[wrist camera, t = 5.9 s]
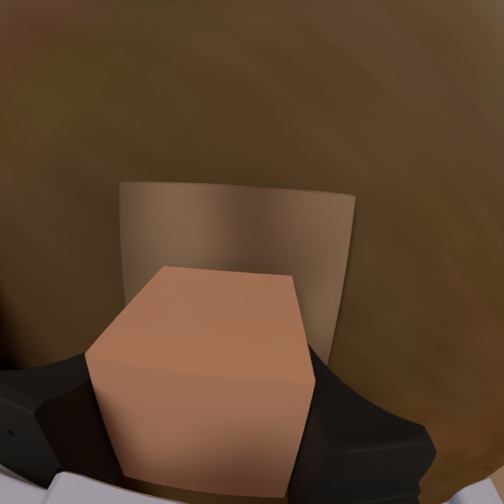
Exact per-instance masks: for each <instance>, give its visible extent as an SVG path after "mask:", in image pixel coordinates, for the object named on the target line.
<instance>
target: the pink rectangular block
mask: <svg viewBox="0 0 504 504" xmlns="http://www.w3.org/2000/svg"><path fill="white" fill-rule="evenodd" d="M85 357H86V362H87V366H88V370H89V374H90V377H91V381H92V385H93V388H94V392H95V395H96V399H97V402H98V405H99V409H100V412H101V415H102V418H103V421H104V424H105V427H106V430H107V433H108V435H109V438H110V441H111V444H112V446H113V449H114V452H115V454H116V457H117V459H118V462H119V464H120V467H121V469H122V471H123V474H124V476H126V477H130V478H134V479H138V480H142V481H146V482H150V483H155V484H160V485H165V486H170V487H175V488H181V489H186V490H193V491H200V492H207V493H215V494H225V495H236V496H251V497H284V496H285V493H286V490H287V486H288V483H289V480H290V477H291V473H292V470H293V467H294V463H295V460H296V456H297V453H298V449H299V446H300V442H301V438H302V435H303V431H304V427H305V423H306V419H307V415H308V411H309V407H310V403H311V399H312V395H313V390H314V386H315V377H314V372H313V368H312V363H311V358H310V354H309V349H308V344H307V340H306V335H305V331H304V326H303V322H302V318H301V313H300V309H299V305H298V300H297V296H296V292H295V287H294V283H293V279H292V276H288V275H273V274H259V273H245V272H231V271H218V270H205V269H193V268H181V267H169V266H163V267H162V268H161V269H160V270H159V271H158V273H157V274H156V275H155V276H154V277H153V278H152V279H151V280H150V281H149V282H148V283H147V284H146V285H145V287H144V288H143V289H142V290H141V291H140V292H139V293H138V294H137V295H136V296H135V297H134V299H133V300H132V301H131V302H130V303H129V304H128V305H127V306H126V307H125V309H124V310H123V311H122V312H121V313H120V314H119V315H118V316H117V317H116V319H115V320H114V321H113V322H112V323H111V324H110V325H109V327H108V328H107V329H106V330H105V331H104V332H103V333H102V335H101V336H100V337H99V338H98V339H97V340H96V341H95V343H94V344H93V345H92V346H91V347H90V348H89V350H88V351H87V352H86V353H85Z"/></svg>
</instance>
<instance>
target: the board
mask: <svg viewBox="0 0 504 504" xmlns="http://www.w3.org/2000/svg"><path fill="white" fill-rule="evenodd" d="M119 205H120V240H121V258H122V273H123V285H124V296H125V305H126V306H127V305H128V304H129V303H130V302H131V301H132V300H133V299H134V297H135V296H136V295H137V294H138V293H139V292H140V291H141V290H142V289H143V288H144V287H145V285H146V284H147V283H148V282H149V281H150V280H151V279H152V278H153V277H154V276H155V275H156V274H157V273H158V271H159V270H160V269H161V268H162V267H163V266H169V267H181V268H193V269H205V270H218V271H231V272H245V273H259V274H273V275H288V276H292V279H293V283H294V287H295V292H296V296H297V300H298V305H299V309H300V313H301V318H302V322H303V326H304V331H305V335H306V340H307V342H308V344H309V345H310V346H311V348H312V349H313V350H314V352H315V353H316V354H317V355H318V357H319V358H320V359H321V360H322V361H323V362H324V364H325V365H326V366H327V364H328V359H329V355H330V350H331V346H332V341H333V336H334V331H335V326H336V321H337V316H338V311H339V306H340V300H341V295H342V289H343V283H344V277H345V271H346V265H347V258H348V252H349V245H350V238H351V230H352V222H353V214H354V206H355V196H352V195H349V194H340V193H330V192H321V191H310V190H299V189H287V188H275V187H261V186H245V185H228V184H207V183H178V182H123V183H119Z"/></svg>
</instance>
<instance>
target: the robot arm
mask: <svg viewBox="0 0 504 504" xmlns="http://www.w3.org/2000/svg"><path fill="white" fill-rule="evenodd" d="M307 344H308V342H307ZM308 349H309V354H310V358H311V363H312V368H313V372H314V377H315V386H314V390H313V395H312V399H311V403H310V407H309V411H308V415H307V419H306V423H305V427H304V431H303V435H302V438H301V442H300V446H299V449H298V453H297V456H296V460H295V463H294V467H293V470H292V473H291V477H290V480H289V483H288V504H420V503H419V500H418V497H417V495H419V494H420V492H421V490H420V487H419V484H418V482H419V481H420V479H421V478H422V477H423V475H424V474H425V473H426V471H427V470H428V469H429V467H430V466H431V464H432V462H433V461H434V459H435V456H436V449H435V447H434V445H433V443H432V440H431V438H430V436H429V434H428V432H427V431H426V429H425V427H424V426H423V425H420V424H417V423H414V422H411V421H408V420H406V419H403V418H400V417H398V416H396V415H394V414H391V413H389V412H387V411H385V410H383V409H381V408H379V407H378V406H376V405H374V404H373V403H371V402H369V401H368V400H366V399H364V398H363V397H361V396H360V395H359V394H357V393H356V392H355V391H353V390H352V389H351V388H349V387H348V386H347V385H346V384H344V383H343V382H342V381H341V380H340V379H339V378H338V377H337V376H336V375H335V374H334V373H333V372H332V371H331V370H330V369H329V368H328V367H327V366H326V365H325V364H324V362H323V361H322V360H321V359H320V358H319V357H318V355H317V354H316V353H315V352H314V350H313V349H312V348H311V346H310V345H309V344H308ZM86 352H87V351H86ZM86 352H84V353H82V354H79V355H77V356H74V357H71V358H69V359H66V360H63V361H59V362H56V363H52V364H48V365H45V366H40V367H35V368H29V369H22V370H9V371H0V504H187V503H184V502H180V501H176V500H171V499H166V498H161V497H156V496H152V495H147V494H143V493H139V492H135V491H131V490H128V489H124V488H121V487H117V486H116V484H117V480H118V475H119V471H120V464H119V462H118V459H117V457H116V454H115V452H114V449H113V446H112V444H111V441H110V438H109V435H108V433H107V430H106V427H105V424H104V421H103V418H102V415H101V412H100V409H99V405H98V402H97V399H96V395H95V392H94V388H93V385H92V381H91V377H90V374H89V370H88V366H87V362H86V357H85V353H86ZM442 504H503V503H502V501H501V499H500V498H499V495H498V493H497V491H496V489H495V487H494V486H493V484H492V482H491V480H490V478H486V479H483V480H481V481H478V482H476V483H473V484H470V485H468V486H465V487H463V488H462V489H460V490H458V491H457V492H456V493H455V494H454V495H453V496H452V497H451V498H450V500H449V501H448V502H446V503H442Z"/></svg>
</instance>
